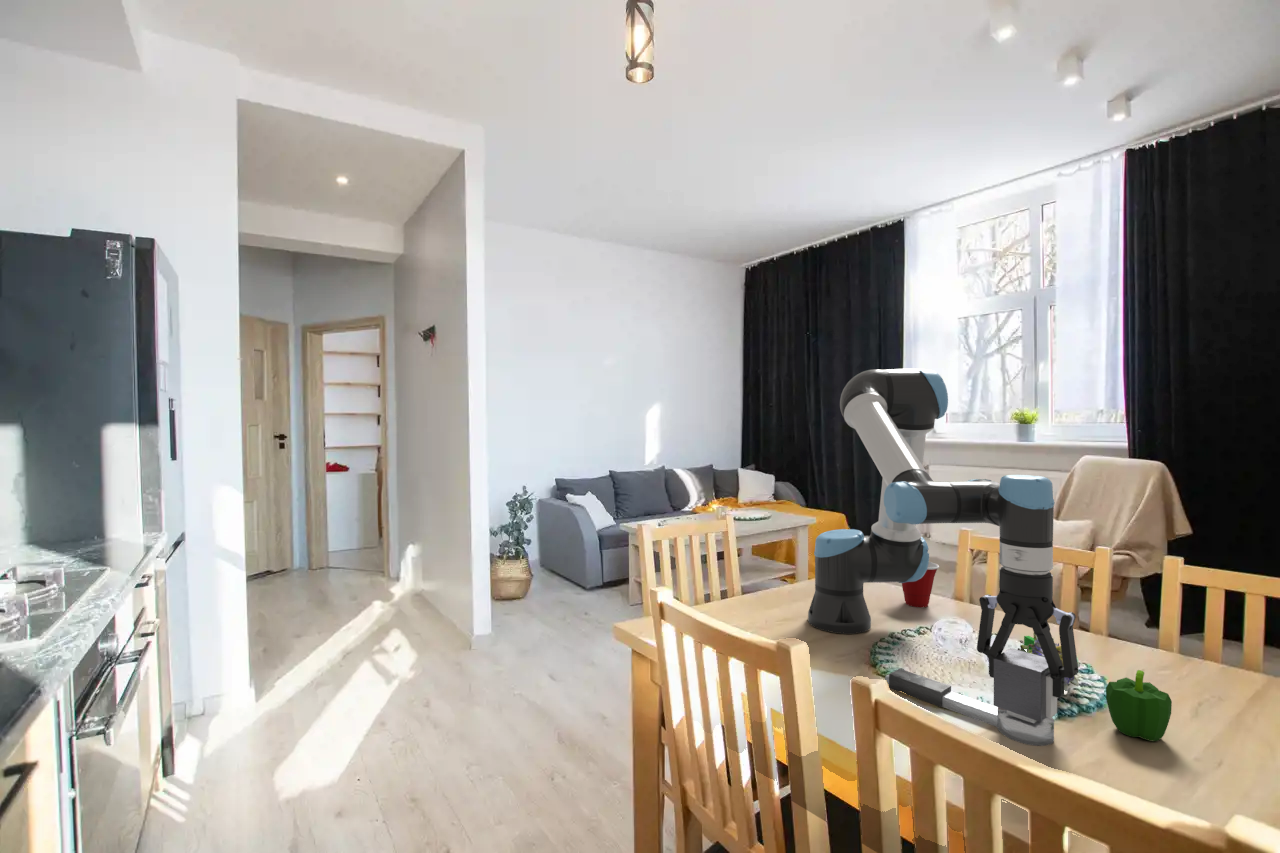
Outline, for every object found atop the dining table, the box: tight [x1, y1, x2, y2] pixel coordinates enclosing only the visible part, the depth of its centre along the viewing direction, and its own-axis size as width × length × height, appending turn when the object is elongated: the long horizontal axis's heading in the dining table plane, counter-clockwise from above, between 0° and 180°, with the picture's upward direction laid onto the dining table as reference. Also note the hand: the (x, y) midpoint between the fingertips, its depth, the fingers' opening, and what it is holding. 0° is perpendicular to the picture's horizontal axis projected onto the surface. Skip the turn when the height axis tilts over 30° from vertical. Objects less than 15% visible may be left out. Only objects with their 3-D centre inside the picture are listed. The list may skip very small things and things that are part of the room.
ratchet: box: [884, 668, 1055, 747], centre depth 110 cm, size 28×8×7 cm, turn 38°
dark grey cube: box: [993, 647, 1051, 722], centre depth 102 cm, size 7×7×8 cm
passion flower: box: [1016, 632, 1081, 692], centre depth 119 cm, size 11×11×12 cm
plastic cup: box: [901, 561, 940, 608], centre depth 169 cm, size 11×11×12 cm
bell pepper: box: [1105, 669, 1173, 742], centre depth 101 cm, size 8×8×10 cm
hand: (1024, 705), depth 102 cm, fingers closed on dark grey cube, 7 cm apart
